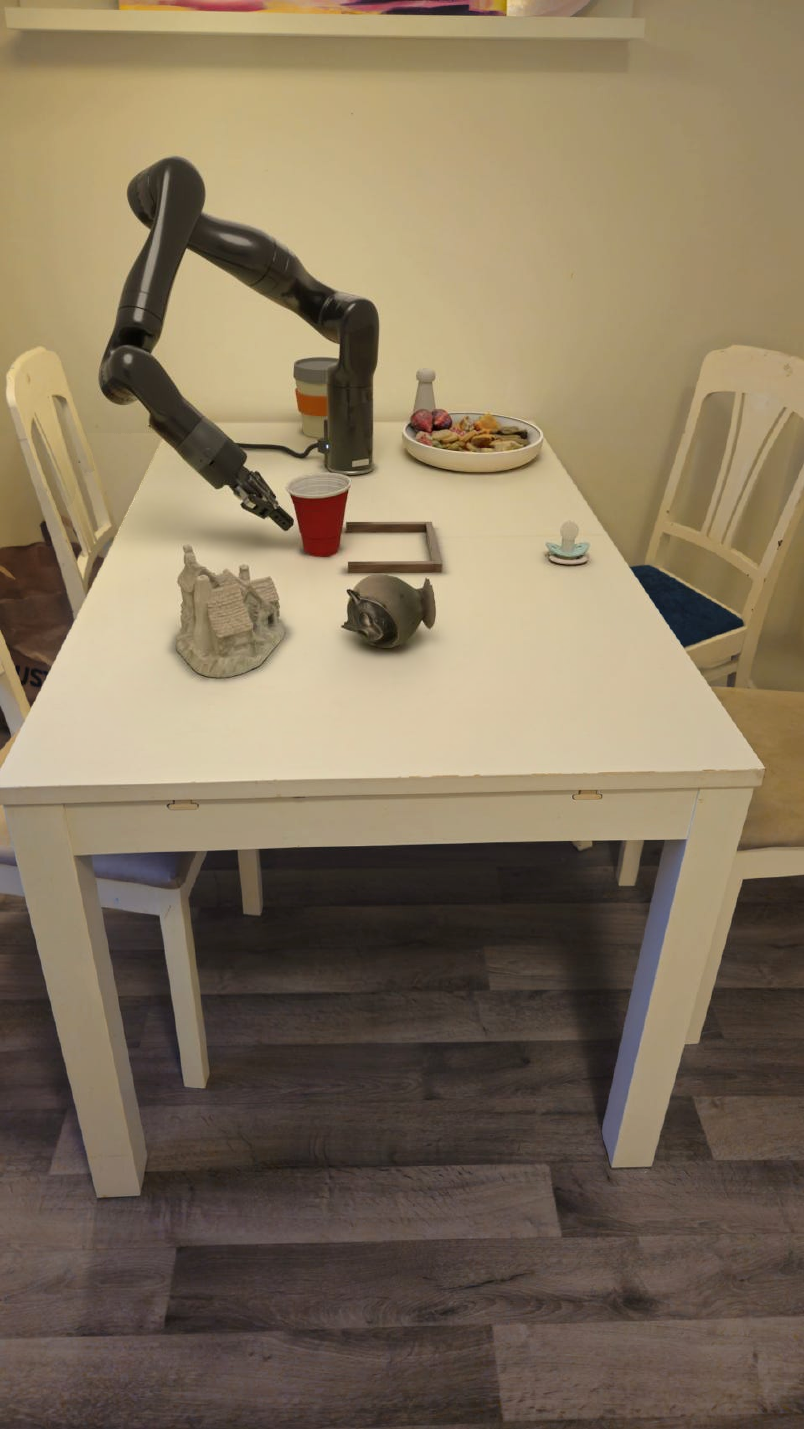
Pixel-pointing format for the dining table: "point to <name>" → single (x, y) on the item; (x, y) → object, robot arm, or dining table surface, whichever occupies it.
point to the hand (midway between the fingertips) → (290, 526)
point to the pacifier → (568, 546)
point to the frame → (397, 565)
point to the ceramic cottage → (226, 619)
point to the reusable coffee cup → (312, 393)
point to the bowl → (471, 440)
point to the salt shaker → (425, 390)
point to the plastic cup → (320, 510)
